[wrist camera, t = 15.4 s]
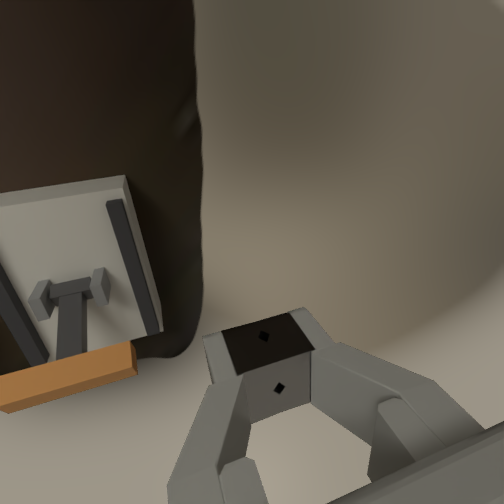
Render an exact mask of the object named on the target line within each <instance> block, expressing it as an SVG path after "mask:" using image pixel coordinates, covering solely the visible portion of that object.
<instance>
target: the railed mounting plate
mask: <svg viewBox="0 0 504 504" xmlns="http://www.w3.org/2000/svg"><path fill="white" fill-rule="evenodd" d="M106 208H107V211H108V215H109V218H110V221H111V224H112V227H113V230H114V233H115V236H116V239H117V243H118V246H119V249H120V252H121V255H122V258H123V261H124V264H125V267H126V271H127V274H128V277H129V280H130V283H131V286H132V289H133V292H134V295H135V299H136V302H137V305H138V308H139V311H140V314H141V317H142V320H143V323H144V327H145V330H146V333H147V336H151V335H154V334H158V333H160V328H159V323H158V319H157V316H156V313H155V309H154V306H153V302H152V299H151V295H150V292H149V289H148V285H147V282H146V278H145V275H144V271H143V268H142V265H141V261H140V258H139V254H138V251H137V247H136V244H135V241H134V237H133V234H132V230H131V227H130V223H129V220H128V217H127V213H126V210H125V206H124V203H123V199H122V198H121V199H115V200H109V201H107V202H106ZM0 315H1V316H2V318H3V320H4V321H5V323H6V325H7V326H8V328H9V330H10V332H11V333H12V335H13V337H14V338H15V340H16V342H17V343H18V345H19V347H20V348H21V350H22V352H23V354H24V355H25V357H26V359H27V360H28V362H29V364H30V365H31V367H35V366H38V365H42V364H45V363H47V362H48V359H49V356H50V354H49V352H48V351H47V349H46V347H45V345H44V343H43V341H42V339H41V338H40V336H39V334H38V332H37V330H36V328H35V326H34V325H33V323H32V321H31V319H30V317H29V315H28V313H27V312H26V310H25V308H24V306H23V304H22V302H21V300H20V299H19V297H18V295H17V293H16V291H15V289H14V287H13V286H12V284H11V282H10V280H9V278H8V276H7V274H6V273H5V271H4V269H3V267H2V265H1V263H0Z"/></svg>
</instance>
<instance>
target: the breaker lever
mask: <svg viewBox="0 0 504 504" xmlns="http://www.w3.org/2000/svg"><path fill="white" fill-rule="evenodd" d="M90 283H91V277H90V276H89V277H85V278H80V279H75V280H71V281H66V282H62V283H57V284H53V285H50V297H49V299H50V300H51V301H52V302H53V303H54V304H55V306H56V307H59V308H58V327H57V346H56V361H53V362H49V363H45V364H42V365H38V366H35V367H31V368H27V369H24V370H20V371H16V372H13V373H9V374H5V375H2V376H0V410H1V411H3V412H6V413H8V414H9V413H12V412H16V411H19V410H22V409H26V408H29V407H32V406H35V405H39V404H42V403H45V402H49V401H52V400H55V399H59V398H62V397H65V396H69V395H72V394H75V393H78V392H82V391H85V390H88V389H92V388H95V387H98V386H102V385H105V384H108V383H112V382H115V381H118V380H122V379H125V378H128V377H131V376H135V375H138V370H137V360H136V351H135V348H134V346H133V345H132V343H131V342H130V340H129V341H126V342H122V343H118V344H115V345H111V346H107V347H104V348H100V349H97V350H93V351H89V352H87V300H88V299H92V298H94V297H93V295H92V292H91V290H90V287H89V286H90Z"/></svg>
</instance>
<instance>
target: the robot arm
mask: <svg viewBox="0 0 504 504" xmlns="http://www.w3.org/2000/svg"><path fill="white" fill-rule="evenodd" d="M203 343H204V348H205V353H206V358H207V362H208V367H209V371H210V376H211V381H212V385H209V386H208V389H207V391H206V394H205V396H204V398H203V401H202V403H201V405H200V408H199V410H198V412H197V415H196V417H195V420H194V422H193V425H192V427H191V429H190V432H189V434H188V436H187V439H186V441H185V443H184V446H183V448H182V451H181V453H180V455H179V458H178V460H177V463H176V465H175V467H174V470H173V472H172V474H171V477H170V479H169V481H168V484H167V493H168V504H268V501H267V497H266V494H265V491H264V489H263V486H262V482H261V480H260V476H259V473H258V470H257V467H256V464H255V462H254V460H252V459H249V458H247V457H245V456H246V450H247V446H248V440H249V435H250V430H251V424H253V423H255V422H258V421H260V420H263V419H265V418H268V417H270V416H273V415H275V414H277V413H280V412H283V411H286V410H288V409H292V408H295V407H298V406H301V405H303V404H306V403H309V402H311V404H312V405H314V406H315V407H317V408H318V409H319V410H321V411H322V412H324V413H325V414H326V415H328V416H329V417H331V418H332V419H333V420H335V421H336V422H338V423H339V424H341V425H342V426H344V427H345V428H346V429H348V430H349V431H350V432H352V433H353V434H355V435H356V436H358V437H359V438H360V439H362V440H364V441H365V442H367V443H368V444H369V445H370V446H372V448H371V454H370V460H369V466H368V473H367V475H368V477H369V478H370V480H371V482H372V483H370V484H368V485H366V486H363V487H361V488H359V489H357V490H355V491H353V492H350V493H348V494H346V495H344V496H342V497H340V498H338V499H335V500H333V501H331V502H329V503H327V504H504V421H503V422H501V423H499V424H496V425H494V426H492V427H490V428H488V429H486V430H485V429H484V428H483V427H482V426H481V425H480V424H479V423H478V422H477V421H476V420H475V419H473V418H472V417H471V416H470V415H469V414H468V413H467V412H466V411H465V410H464V409H463V408H462V407H461V406H460V405H459V404H458V403H457V402H456V401H454V399H453V398H451V397H450V396H449V395H448V394H447V393H446V392H445V391H444V390H443V389H442V388H441V387H440V386H439V385H438V384H437V383H436V382H435V381H433V380H431V379H429V378H426V377H424V376H421V375H419V374H416V373H414V372H411V371H409V370H406V369H404V368H402V367H399V366H397V365H394V364H392V363H390V362H387V361H385V360H382V359H380V358H377V357H375V356H372V355H370V354H368V353H365V352H363V351H360V350H358V349H355V348H353V347H351V346H348V345H345V344H343V343H341V342H340V343H337V344H335V343H334V342H333V341H332V339H331V338H330V337H329V336H328V334H327V333H326V332H325V331H324V329H323V328H322V327H321V326H320V325H319V323H318V322H317V321H316V320H315V318H314V317H313V316H312V315H311V314H310V312H309V311H308V310H307V309H306V308H304V307H302V308H299V309H295V310H292V311H289V312H287V313H284V314H280V315H277V316H273V317H270V318H266V319H263V320H260V321H256V322H253V323H249V324H245V325H242V326H238V327H234V328H230V329H226V330H222V331H221V332H217V333H212V334H209V335H205V336H203Z"/></svg>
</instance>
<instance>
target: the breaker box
mask: <svg viewBox="0 0 504 504" xmlns="http://www.w3.org/2000/svg"><path fill="white" fill-rule="evenodd" d="M121 198H122V199H123V203H124V206H125V210H126V213H127V217H128V220H129V223H130V227H131V230H132V234H133V237H134V241H135V244H136V247H137V251H138V254H139V258H140V261H141V265H142V268H143V271H144V275H145V278H146V282H147V285H148V289H149V292H150V295H151V299H152V302H153V306H154V309H155V313H156V316H157V319H158V323H159V328H160V332H162V331H164V330H163V321H162V311H161V303H160V299H159V296H158V292H157V288H156V285H155V281H154V278H153V274H152V270H151V267H150V263H149V260H148V256H147V252H146V249H145V245H144V242H143V238H142V234H141V231H140V227H139V223H138V220H137V216H136V213H135V209H134V205H133V202H132V198H131V195H130V191H129V187H128V184H127V180H126V177H125V175H120V176H113V177H106V178H100V179H93V180H86V181H80V182H73V183H67V184H60V185H53V186H47V187H40V188H33V189H27V190H20V191H13V192H7V193H0V263H1V265H2V267H3V269H4V271H5V273H6V274H7V276H8V278H9V280H10V282H11V284H12V286H13V287H14V289H15V291H16V293H17V295H18V297H19V299H20V300H21V302H22V304H23V306H24V308H25V310H26V312H27V313H28V315H29V317H30V319H31V321H32V323H33V325H34V326H35V328H36V330H37V332H38V334H39V336H40V338H41V339H42V341H43V343H44V345H45V347H46V349H47V351H48V352H49V354H50V356H49V359H48V362H47V363H49V362H53V361H56V346H57V327H58V308H59V307H56V306H55V304H54V303H53V302H52V301H51V300H50V299H49V297H50V285H53V284H57V283H62V282H66V281H71V280H75V279H80V278H85V277H89V276H90V277H91V283H90V286H89V287H90V290H91V292H92V295H93V297H94V298H92V299H88V300H87V352H89V351H93V350H97V349H100V348H104V347H107V346H111V345H115V344H118V343H122V342H126V341H129V340H133V339H137V338H140V337H144V336H147V333H146V330H145V327H144V323H143V320H142V317H141V314H140V311H139V308H138V305H137V302H136V299H135V295H134V292H133V289H132V286H131V283H130V280H129V277H128V274H127V271H126V267H125V264H124V261H123V258H122V255H121V252H120V249H119V246H118V243H117V239H116V236H115V233H114V230H113V227H112V224H111V221H110V218H109V215H108V211H107V208H106V202H107V201H109V200H115V199H121Z"/></svg>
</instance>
